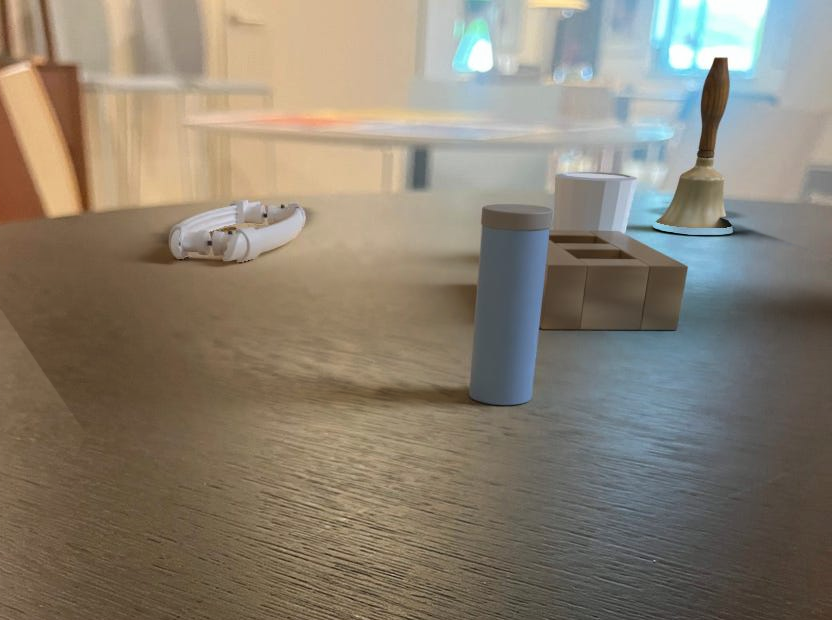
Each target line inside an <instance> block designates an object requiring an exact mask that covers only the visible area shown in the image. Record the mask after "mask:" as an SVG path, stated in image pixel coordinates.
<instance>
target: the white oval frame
mask: <svg viewBox="0 0 832 620" xmlns="http://www.w3.org/2000/svg"><path fill="white" fill-rule="evenodd" d="M287 204H288V205H287V206H288V207H285V204H283V203H281V204H280V207H278V206H277V205H275V204H269V205H268V207H267V211H266V206H265V205H264V204H261V201H251V202H249V199H240V200H239V199H238V200H233V201H232V202H231V203H230V204H229V205H227V206H223V207H217V208H214V209H211V210H206V211H203V212H202V211H201V212H200V213H197V214H194V215H192V216H189V217H187V218H185V219H184V220H182V221H180V223H176V224H174V225H173V226H172V227H171V229H170V230H169V235H168V247H169V250H170V252H171V255H173V256H174V258H176V259H177V260H179V259H181V258H184V257H185V256H188V255H190V253H198V255H200V256H201V255H202V256H209V255H210V254H211V249H212V253H213V255H214V256H215V257H216V256H217V257H219V256H223V258H222V261H223V262H230V261H235V260H236V263H239V262H242V263H245V262H244V261H246V262H249V261H248V260H250V261H252V260H251V259H254V260H256V259H257V258H258V257H260V254H263V253H266V252H269V251H272V250H275V249H277V248H280V247H282V246H285V245H287V244H288V243H290V242H292V241H293V240H294V239H296V237H298V236H299V234H300V233H301V231H302V230H303V228H304V227H305V225H306V220H307V218H306V212H305V209H304V208H303V207H302V206H301V205H300V204H299V203H298V201H291V202H288V203H287ZM266 212H267V213H266ZM266 219H267V225H266V226H262V227H259V228H255V227H253V226H249V227H240V228H237V229H235V233H233V230H232V229H227V233H225V231H222V230H219V231H214V232H212V236H211V233H209V232H210V231H213V230H216V229H219V228H222V227H224V226H229V225H233V224H237V223H239V224H244V223H251V224H255V225H256V224H263V223H265V224H266ZM269 225H270V226H269ZM302 227H303V228H302Z"/></svg>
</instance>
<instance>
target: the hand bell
mask: <svg viewBox="0 0 832 620" xmlns="http://www.w3.org/2000/svg"><path fill="white" fill-rule="evenodd" d="M730 80H731V79H730V71H729V58H728V57H727V56H725V57H724V56H723V57H721V56H720V57H714V58H713V61H712V64H711V66H710V68H709V71H708V73H707V75H706V77H705V80H704V83H703V87H702V92H701V98H700V118H701V132H700V137H699V144H698V150H697V153H696V157H697V158H696V162H695V164H694V166H693V167H691V168H690V169H688V170H687V171H685V172H682V174H680V176H679V178H678V182H677V186H676V189H675V192H674V194H673V197H672V199H671V202H670V204H669V206H668V207H667V209H666V210H665V211H664V213H663V214H662V215H661V216H660V217H659V218H658V219H656V220H655V222H657V223H660V224H664V225H669V226H676V227H687V228H727V227H731V226H733V224H732V223H731V222H730V220H729V219H726V218H724V217H726V216H727V214H726V213H727V212H726V209H725V203H724V202H725V201H724V189H725V188H724V186H725V177H724V175H723V174H721V173H720V172H718V171H717V170H716V169H715V168H714V161H715V159H714V157H715V154H716V153H715V149H716V143H717V135H718V131H719V126H720V125H721V124H720V123H721V122H722V119H723V116H724V114H725V111H726V109H727V104H728V101H729V96H730V89H731V81H730Z"/></svg>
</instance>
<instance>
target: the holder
mask: <svg viewBox="0 0 832 620" xmlns="http://www.w3.org/2000/svg"><path fill="white" fill-rule="evenodd" d="M688 269H689V266H688V265H686V264H685V263H682V262H680V261H678V260H676V259H674V258H672V257H670V256H668V255H667V254H665V253H662V252H661V251H659V250H656V249H655V248H653V247H651V246H649V245H647V244H645V243H643V242H641V241H639V240H638V239H635V238H634V237H631V236H630V235H628V234H626V233H625V234H623V233H622V232H620V231H576V230H554V229H550V231H549V240H548V249H547V259H546V268H545V277H544V287H543V296H542V305H541V315H540V324H539V329H541V330H559V331H560V330H561V331H563V330H565V331H566V330H569V331H570V330H574V331H575V330H576V331H577V330H581V331H584V330H587V331H598V330H599V331H677V330H678V327H679V321H680V316H681V309H682V304H683V299H684V292H685V286H686V280H687V275H688Z"/></svg>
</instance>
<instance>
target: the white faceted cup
mask: <svg viewBox="0 0 832 620" xmlns="http://www.w3.org/2000/svg"><path fill="white" fill-rule="evenodd" d="M637 182H638V177H636V176H633V175H628V174H623V173H616V172H615V173H614V172H601V171H569V172H561V173H557V174H554V204H553V207H554V209H553V230H576V231H620V232H622V233H623V234H625V235H626V230H627V227H628V223H629V218H630V214H631V209H632V206H633V202H634V201H633V200H634V197H635V192H636V191H635V190H636V189H637Z"/></svg>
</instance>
